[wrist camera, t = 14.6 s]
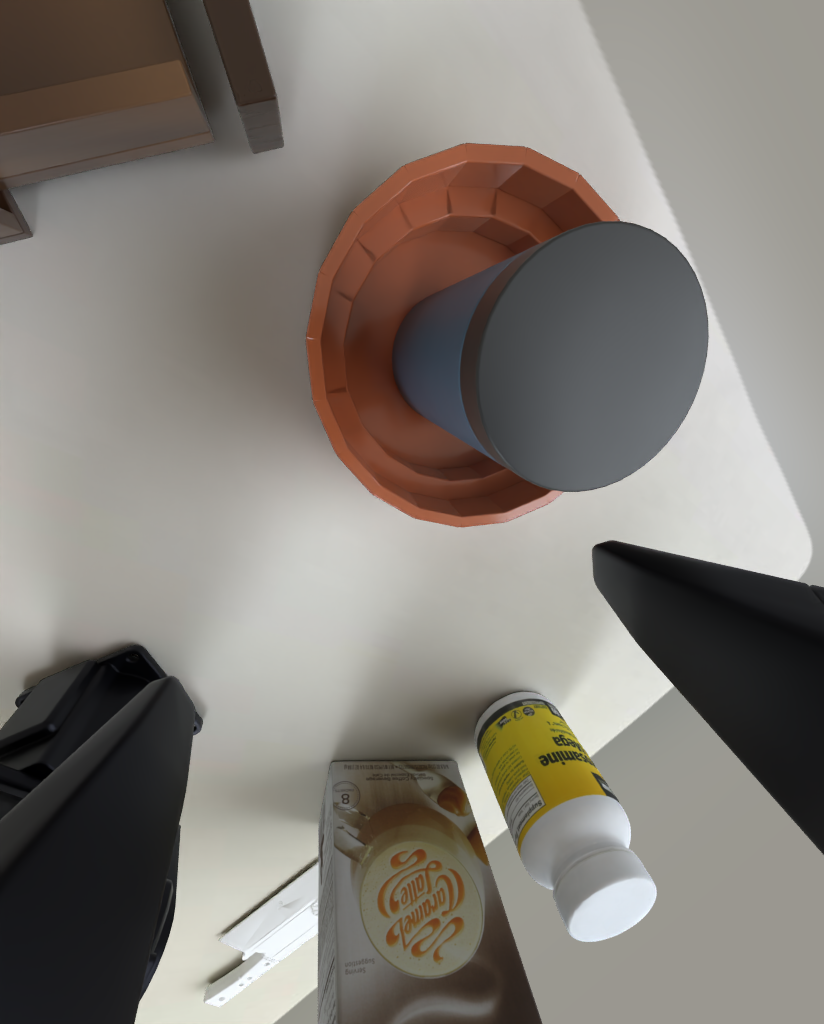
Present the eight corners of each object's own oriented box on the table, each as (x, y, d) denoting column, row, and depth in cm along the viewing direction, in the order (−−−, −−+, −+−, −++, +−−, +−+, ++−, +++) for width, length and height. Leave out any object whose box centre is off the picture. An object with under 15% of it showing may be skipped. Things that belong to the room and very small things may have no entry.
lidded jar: (489, 435, 21) (644, 511, 11) (377, 406, 20) (443, 465, 10) (528, 313, 20) (752, 275, 10) (410, 271, 18) (531, 171, 8)
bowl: (593, 435, 23) (661, 456, 19) (373, 527, 22) (388, 573, 18) (544, 152, 18) (622, 85, 13) (255, 258, 17) (234, 225, 13)
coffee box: (459, 755, 30) (597, 1147, 15) (438, 819, 32) (542, 1221, 17) (328, 758, 27) (342, 1229, 13) (313, 828, 29) (312, 1305, 15)
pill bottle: (569, 699, 30) (697, 874, 20) (523, 762, 32) (621, 955, 22) (501, 677, 28) (606, 860, 18) (455, 746, 29) (528, 951, 19)
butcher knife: (169, 975, 32) (164, 995, 31) (321, 857, 31) (322, 874, 30) (222, 993, 33) (219, 1012, 32) (367, 882, 33) (369, 899, 32)
